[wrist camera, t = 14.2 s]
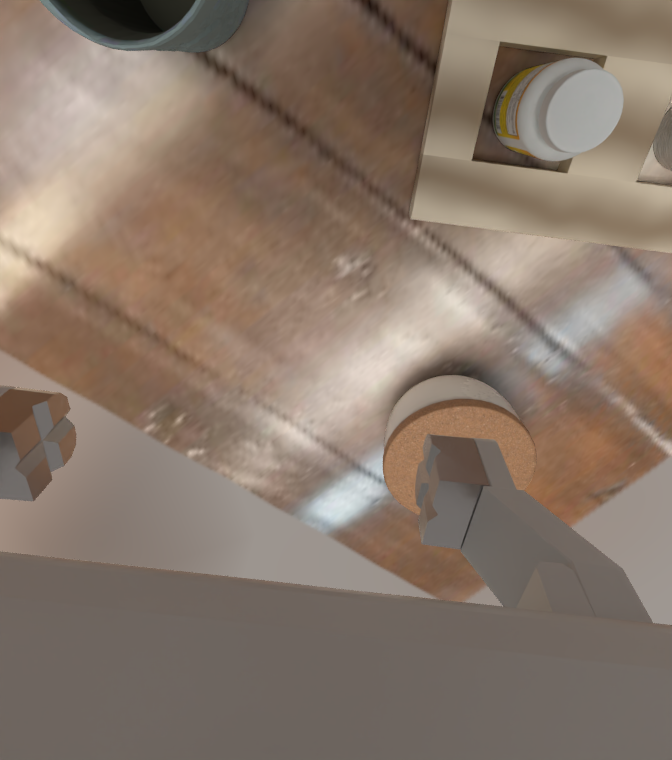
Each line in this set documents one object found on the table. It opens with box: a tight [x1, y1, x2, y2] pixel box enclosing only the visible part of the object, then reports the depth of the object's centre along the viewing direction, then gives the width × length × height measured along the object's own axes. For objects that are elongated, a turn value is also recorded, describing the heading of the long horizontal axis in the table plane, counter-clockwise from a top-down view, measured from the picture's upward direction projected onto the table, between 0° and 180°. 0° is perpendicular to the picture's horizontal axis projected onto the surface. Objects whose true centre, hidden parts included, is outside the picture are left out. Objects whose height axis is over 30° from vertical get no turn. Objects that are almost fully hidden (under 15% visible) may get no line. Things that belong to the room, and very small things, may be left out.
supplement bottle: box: [493, 58, 624, 161], centre depth 29 cm, size 5×5×10 cm
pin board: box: [409, 0, 672, 253], centre depth 32 cm, size 16×26×2 cm, turn 84°
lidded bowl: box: [383, 375, 536, 515], centre depth 41 cm, size 13×13×11 cm
